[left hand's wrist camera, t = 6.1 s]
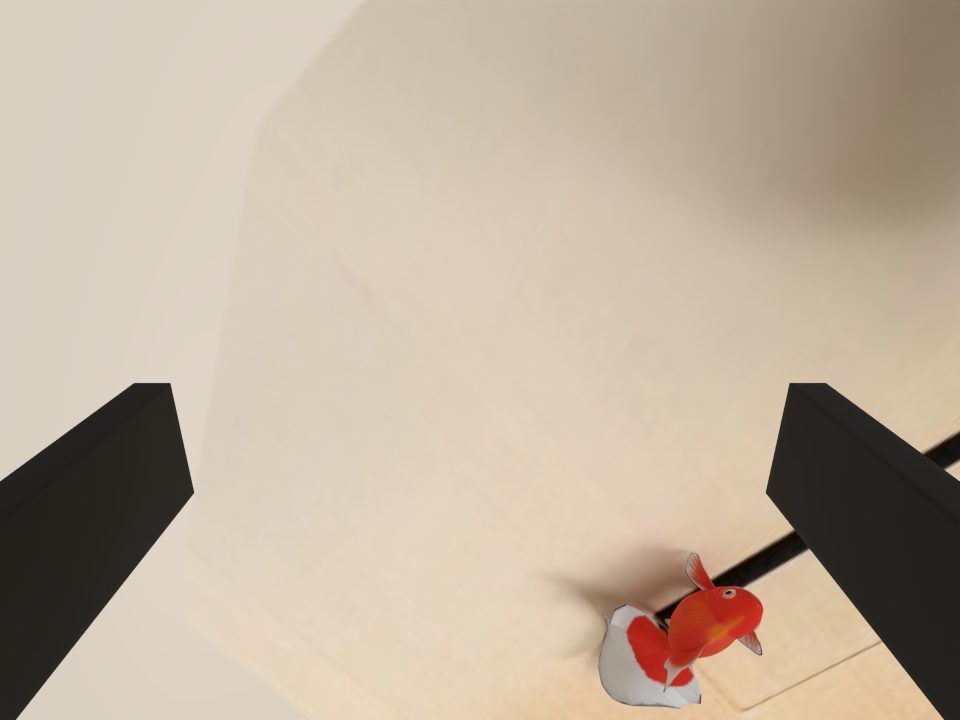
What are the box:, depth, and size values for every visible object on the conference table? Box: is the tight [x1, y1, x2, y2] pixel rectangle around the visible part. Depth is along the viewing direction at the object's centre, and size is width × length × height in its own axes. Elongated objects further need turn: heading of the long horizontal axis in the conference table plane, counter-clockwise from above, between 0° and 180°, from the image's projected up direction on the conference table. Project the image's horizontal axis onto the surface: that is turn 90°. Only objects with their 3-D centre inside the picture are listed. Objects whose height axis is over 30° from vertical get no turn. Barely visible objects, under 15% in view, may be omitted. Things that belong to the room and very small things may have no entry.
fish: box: [598, 553, 763, 709], centre depth 45 cm, size 11×16×10 cm
